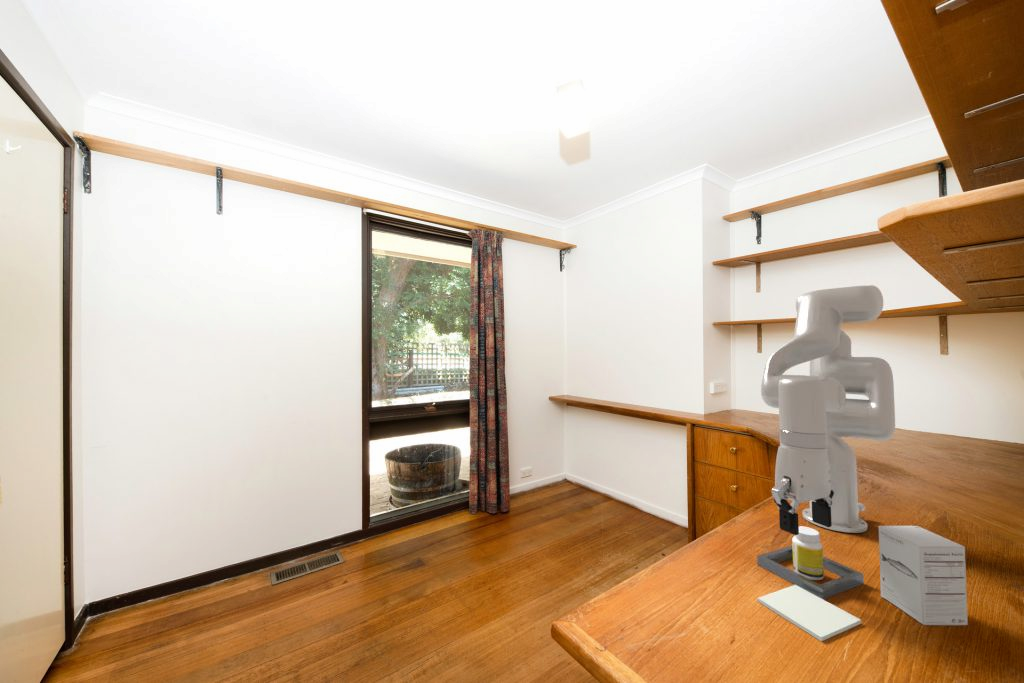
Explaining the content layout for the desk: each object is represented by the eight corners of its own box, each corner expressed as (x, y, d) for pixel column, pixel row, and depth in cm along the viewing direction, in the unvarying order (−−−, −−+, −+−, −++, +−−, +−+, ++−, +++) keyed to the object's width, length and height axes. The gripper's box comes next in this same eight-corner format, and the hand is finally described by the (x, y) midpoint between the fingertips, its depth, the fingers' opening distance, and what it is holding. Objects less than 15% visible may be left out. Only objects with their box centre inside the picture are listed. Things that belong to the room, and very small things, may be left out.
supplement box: (878, 596, 67) (875, 524, 68) (921, 596, 67) (918, 524, 68) (922, 626, 60) (918, 545, 60) (971, 626, 60) (966, 545, 60)
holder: (796, 552, 82) (795, 544, 82) (863, 583, 71) (863, 574, 71) (757, 564, 78) (757, 555, 78) (823, 599, 67) (822, 589, 67)
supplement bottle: (830, 581, 72) (828, 536, 72) (805, 581, 72) (803, 536, 72) (810, 566, 77) (809, 524, 77) (787, 567, 77) (785, 525, 77)
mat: (795, 587, 70) (795, 584, 70) (861, 623, 61) (861, 619, 61) (757, 601, 67) (757, 597, 67) (821, 641, 57) (821, 637, 57)
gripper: (810, 433, 82) (813, 514, 81) (754, 439, 76) (756, 527, 75) (852, 440, 75) (855, 529, 74) (793, 447, 69) (796, 544, 68)
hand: (805, 528), depth 74 cm, fingers open, 9 cm apart
